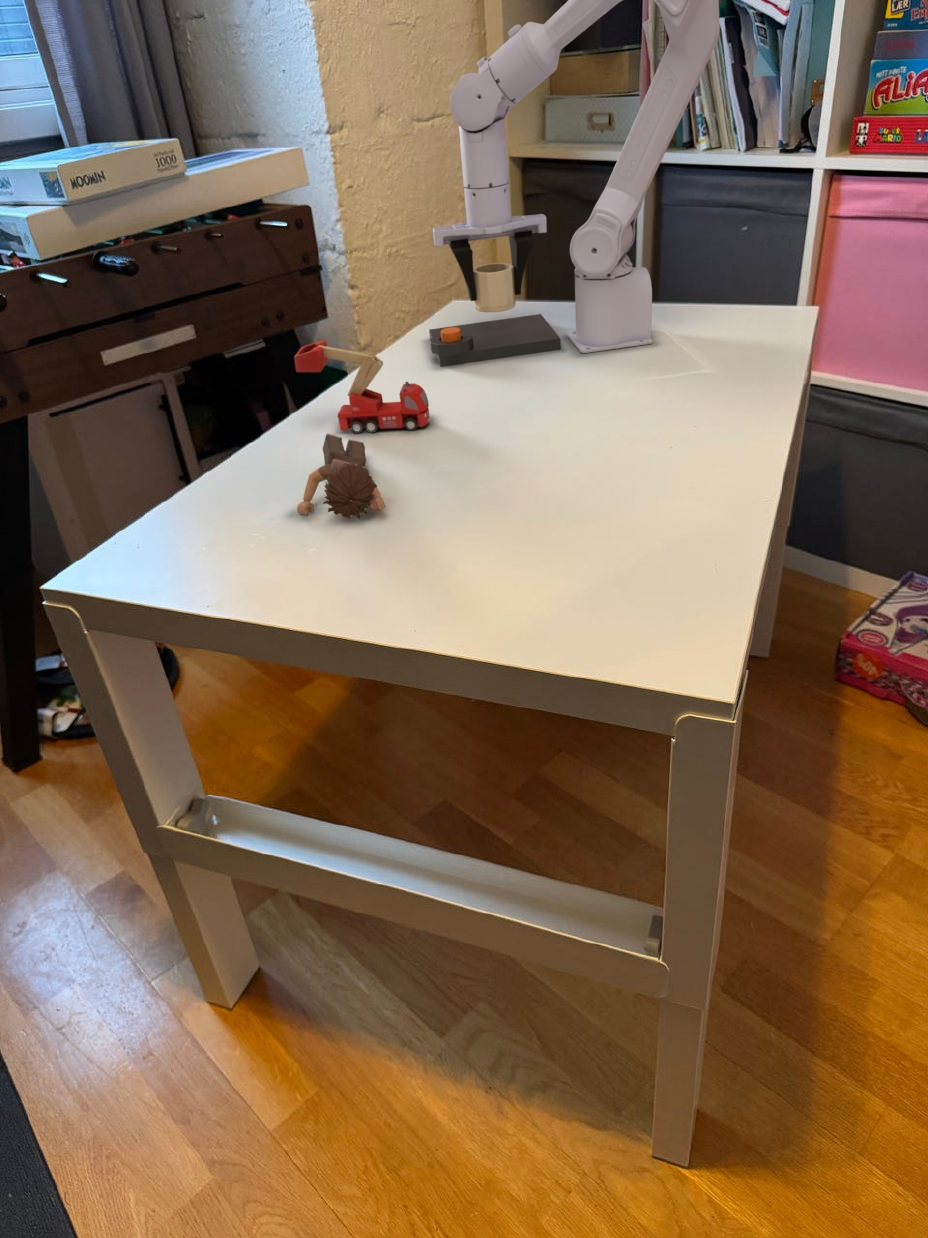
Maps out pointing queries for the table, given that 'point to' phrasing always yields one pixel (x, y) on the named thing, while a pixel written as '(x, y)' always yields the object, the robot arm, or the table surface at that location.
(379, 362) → the toy fire truck
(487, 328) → the scale
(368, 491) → the figurine
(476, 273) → the small cup
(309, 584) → the table surface
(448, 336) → the button
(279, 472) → the table surface
